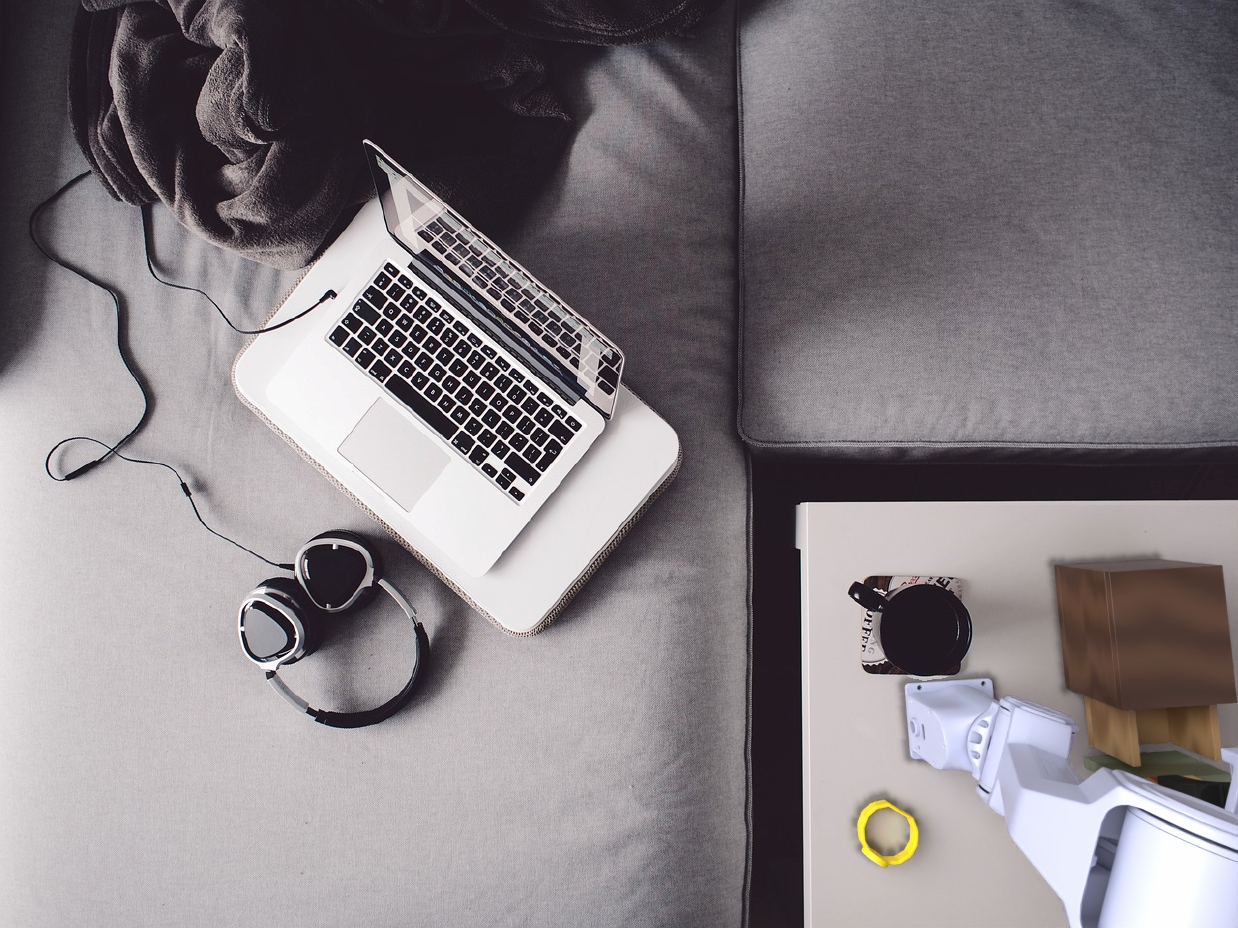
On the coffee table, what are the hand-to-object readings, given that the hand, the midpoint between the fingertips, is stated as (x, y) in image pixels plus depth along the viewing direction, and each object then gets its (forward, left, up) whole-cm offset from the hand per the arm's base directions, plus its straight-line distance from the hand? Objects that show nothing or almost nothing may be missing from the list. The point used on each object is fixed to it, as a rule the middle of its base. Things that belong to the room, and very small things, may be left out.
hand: (1169, 799), depth 65 cm
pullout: (+4, +4, -9) cm, 11 cm away
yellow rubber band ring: (-22, -3, -9) cm, 24 cm away
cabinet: (+3, +14, -10) cm, 18 cm away
